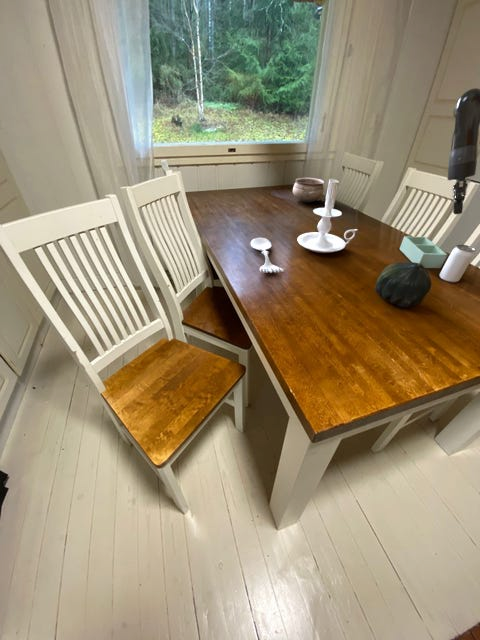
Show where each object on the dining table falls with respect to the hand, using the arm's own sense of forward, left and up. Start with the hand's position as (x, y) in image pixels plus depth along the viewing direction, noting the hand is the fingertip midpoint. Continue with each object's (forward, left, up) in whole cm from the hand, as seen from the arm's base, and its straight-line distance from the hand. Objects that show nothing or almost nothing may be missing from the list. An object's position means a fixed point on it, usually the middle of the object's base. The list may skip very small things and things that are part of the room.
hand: (457, 213), depth 97 cm
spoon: (+68, 0, -20) cm, 71 cm away
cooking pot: (+39, -83, -20) cm, 94 cm away
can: (-1, +11, -20) cm, 23 cm away
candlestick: (+41, -12, -20) cm, 47 cm away
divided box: (+3, -5, -20) cm, 21 cm away
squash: (+25, +27, -20) cm, 42 cm away
